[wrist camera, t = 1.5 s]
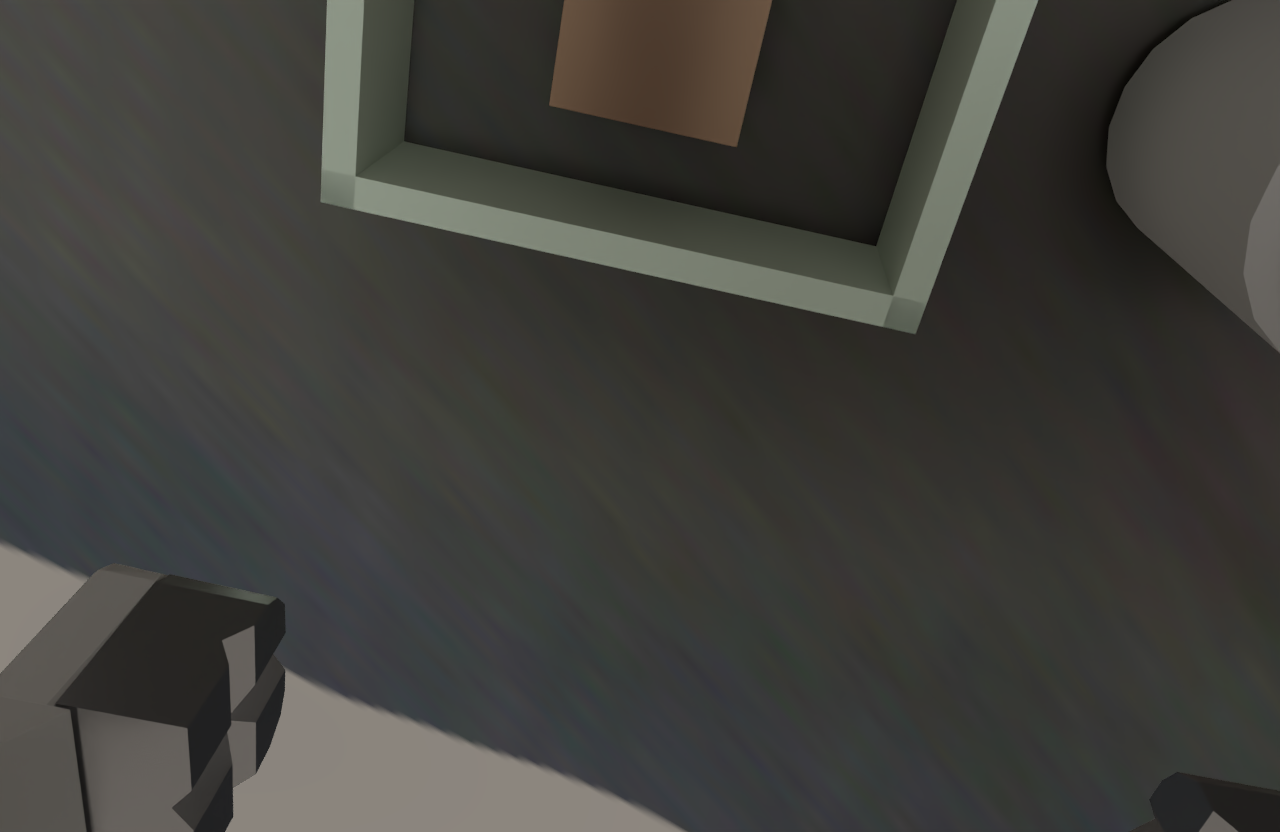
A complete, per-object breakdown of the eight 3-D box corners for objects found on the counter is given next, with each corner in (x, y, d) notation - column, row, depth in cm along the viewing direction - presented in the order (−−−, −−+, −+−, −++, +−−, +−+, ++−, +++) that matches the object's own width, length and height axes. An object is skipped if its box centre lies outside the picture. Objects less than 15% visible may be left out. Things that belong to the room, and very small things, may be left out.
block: (780, -72, 28) (787, -63, 23) (739, 102, 31) (736, 147, 25) (612, -110, 28) (580, -109, 23) (584, 68, 30) (549, 105, 25)
